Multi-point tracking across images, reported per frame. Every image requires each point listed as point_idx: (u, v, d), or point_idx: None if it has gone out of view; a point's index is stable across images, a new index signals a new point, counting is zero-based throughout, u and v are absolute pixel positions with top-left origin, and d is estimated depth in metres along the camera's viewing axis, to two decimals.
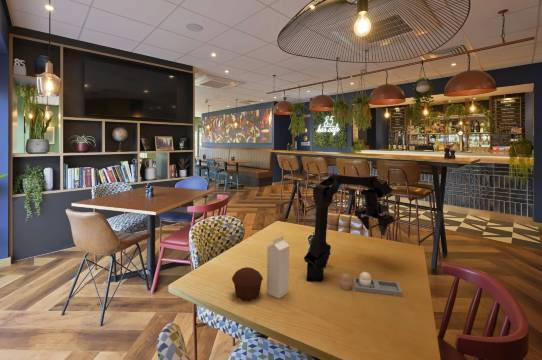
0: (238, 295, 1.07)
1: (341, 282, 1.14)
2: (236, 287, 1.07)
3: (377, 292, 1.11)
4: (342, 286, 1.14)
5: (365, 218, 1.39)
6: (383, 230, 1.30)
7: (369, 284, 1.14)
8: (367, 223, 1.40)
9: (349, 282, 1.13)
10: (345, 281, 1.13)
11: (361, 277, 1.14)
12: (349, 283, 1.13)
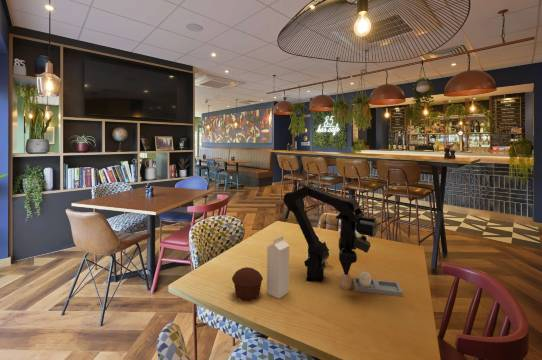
0: (238, 295, 1.07)
1: (341, 282, 1.14)
2: (236, 287, 1.07)
3: (377, 292, 1.11)
4: (342, 286, 1.14)
5: (345, 249, 1.18)
6: (344, 267, 1.09)
7: (369, 284, 1.14)
8: None
9: (349, 282, 1.13)
10: (345, 281, 1.13)
11: (361, 277, 1.14)
12: (349, 283, 1.13)
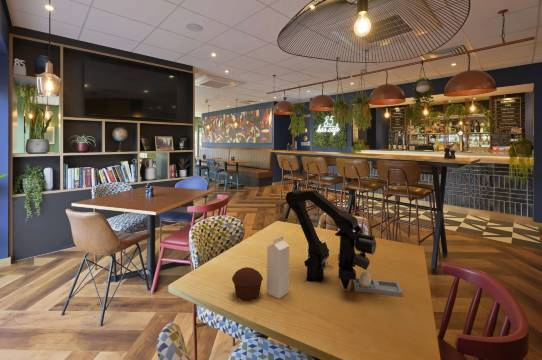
0: (238, 295, 1.07)
1: (341, 282, 1.14)
2: (236, 287, 1.07)
3: (377, 292, 1.11)
4: (342, 286, 1.14)
5: None
6: (344, 282, 1.12)
7: (369, 284, 1.14)
8: None
9: (349, 282, 1.13)
10: None
11: (361, 277, 1.14)
12: (349, 283, 1.13)
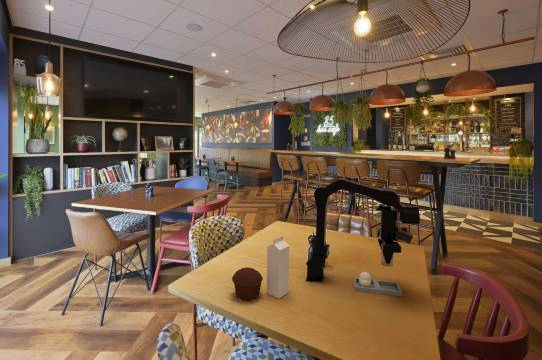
0: (238, 295, 1.07)
1: (383, 257, 1.11)
2: (236, 287, 1.07)
3: (377, 292, 1.11)
4: (384, 262, 1.11)
5: None
6: (386, 257, 1.09)
7: (369, 284, 1.14)
8: None
9: None
10: None
11: (361, 277, 1.14)
12: None
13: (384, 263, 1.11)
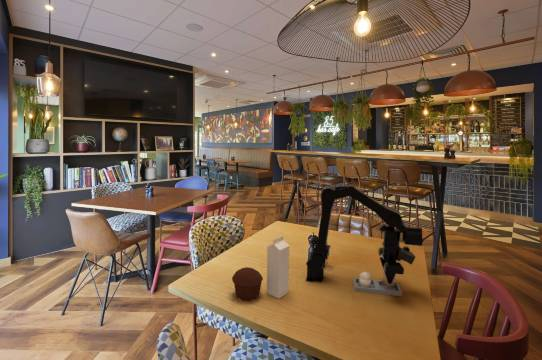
0: (238, 295, 1.07)
1: (385, 277, 1.12)
2: (236, 287, 1.07)
3: (377, 292, 1.11)
4: (386, 281, 1.12)
5: None
6: (388, 276, 1.10)
7: (369, 284, 1.14)
8: None
9: None
10: None
11: (361, 277, 1.14)
12: None
13: (386, 282, 1.12)
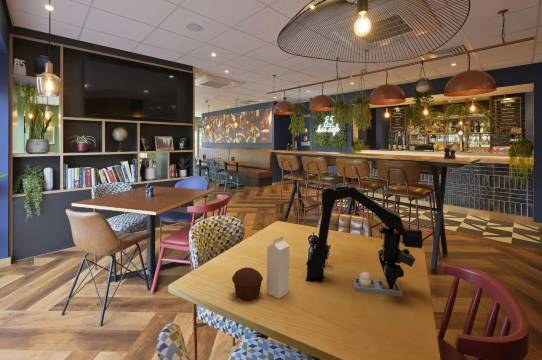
0: (238, 295, 1.07)
1: (384, 283, 1.12)
2: (236, 287, 1.07)
3: (377, 292, 1.11)
4: (386, 288, 1.12)
5: (386, 262, 1.18)
6: (389, 282, 1.08)
7: (369, 284, 1.14)
8: None
9: None
10: None
11: (361, 277, 1.14)
12: None
13: (386, 289, 1.12)
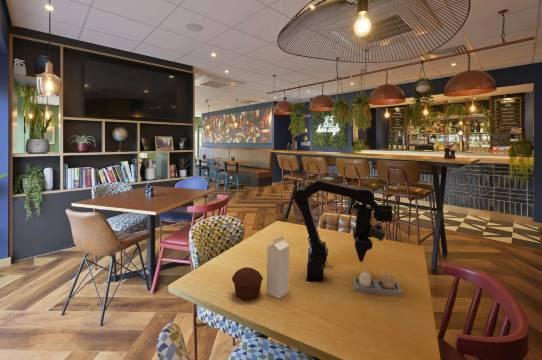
0: (238, 295, 1.07)
1: (384, 283, 1.12)
2: (236, 287, 1.07)
3: (377, 292, 1.11)
4: (386, 288, 1.12)
5: None
6: (359, 254, 1.12)
7: (369, 284, 1.14)
8: None
9: (393, 283, 1.12)
10: (389, 282, 1.11)
11: (361, 277, 1.14)
12: (393, 284, 1.12)
13: (386, 289, 1.12)
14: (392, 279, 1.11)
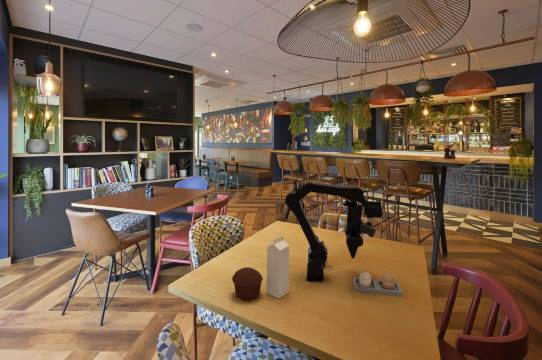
0: (238, 295, 1.07)
1: (385, 283, 1.12)
2: (236, 287, 1.07)
3: (377, 292, 1.11)
4: (386, 288, 1.12)
5: None
6: (351, 251, 1.14)
7: (369, 284, 1.14)
8: None
9: (393, 283, 1.12)
10: (389, 282, 1.11)
11: (361, 277, 1.14)
12: (393, 284, 1.12)
13: (386, 289, 1.12)
14: (392, 279, 1.11)
